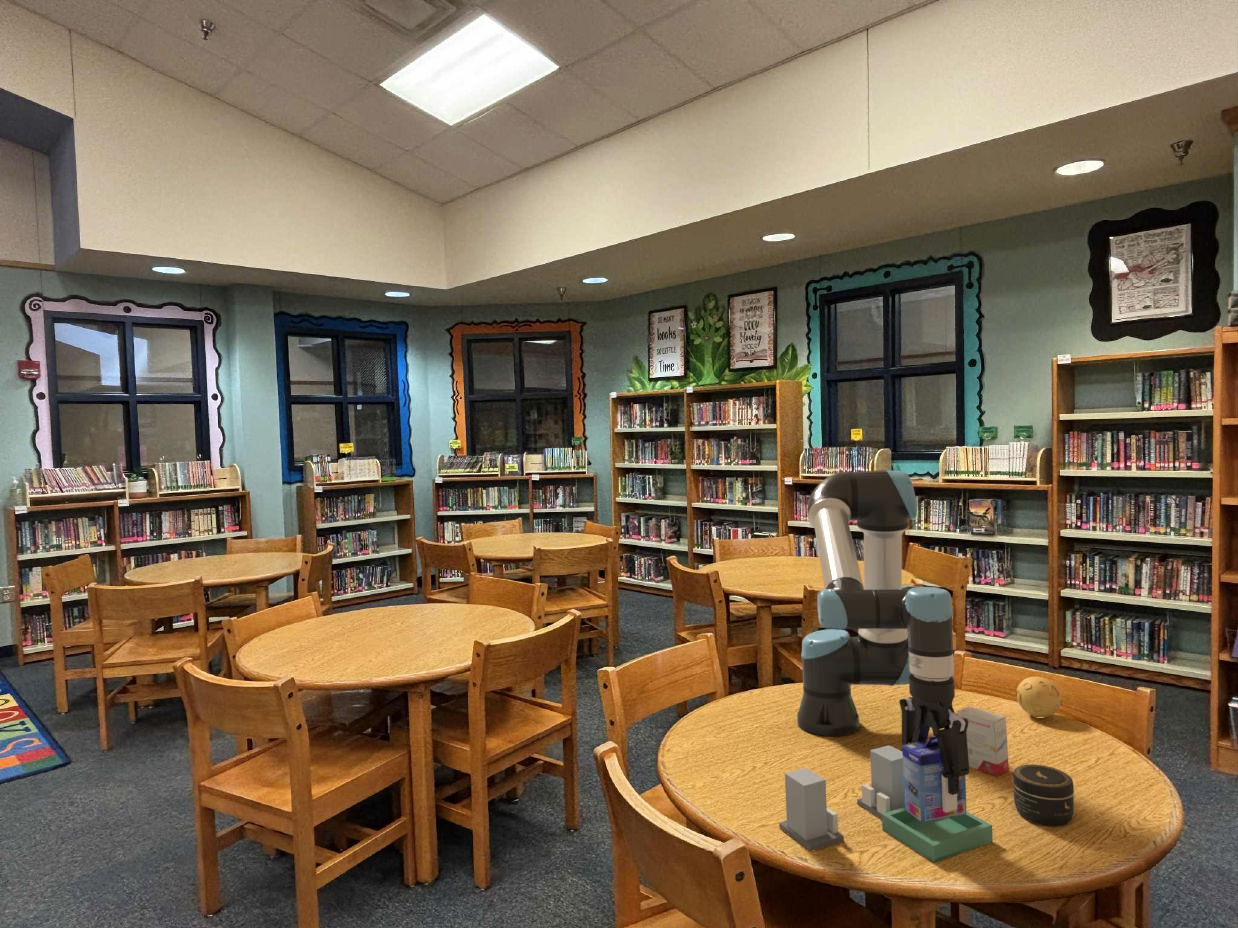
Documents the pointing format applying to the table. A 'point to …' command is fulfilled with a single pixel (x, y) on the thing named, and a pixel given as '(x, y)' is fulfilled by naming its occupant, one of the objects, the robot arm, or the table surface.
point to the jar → (1043, 795)
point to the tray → (937, 833)
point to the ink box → (986, 740)
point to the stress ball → (1038, 696)
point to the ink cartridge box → (927, 782)
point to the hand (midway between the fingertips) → (935, 801)
